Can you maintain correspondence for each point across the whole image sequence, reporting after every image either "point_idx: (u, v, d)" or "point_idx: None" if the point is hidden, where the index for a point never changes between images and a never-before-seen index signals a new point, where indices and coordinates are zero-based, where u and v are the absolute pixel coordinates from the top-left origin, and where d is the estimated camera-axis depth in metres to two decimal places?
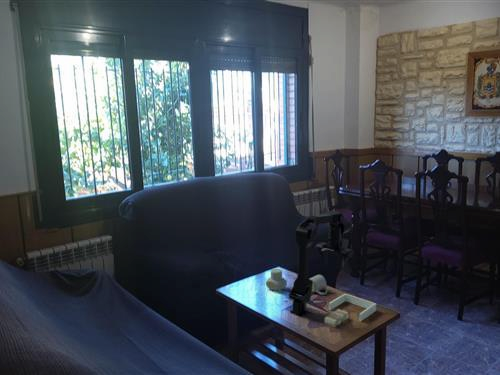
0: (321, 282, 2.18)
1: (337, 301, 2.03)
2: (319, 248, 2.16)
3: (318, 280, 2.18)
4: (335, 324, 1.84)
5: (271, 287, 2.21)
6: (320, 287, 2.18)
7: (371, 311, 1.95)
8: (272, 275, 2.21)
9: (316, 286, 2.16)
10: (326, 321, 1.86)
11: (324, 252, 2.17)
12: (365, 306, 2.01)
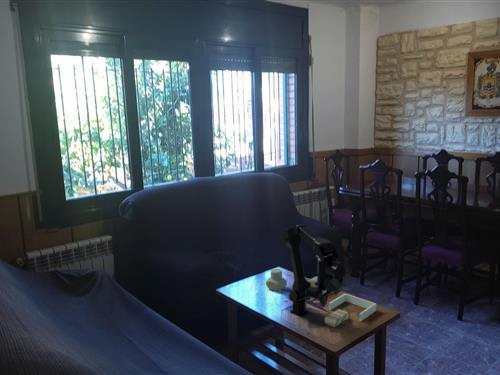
0: None
1: (337, 301, 2.03)
2: None
3: None
4: (335, 324, 1.84)
5: (271, 287, 2.21)
6: None
7: (371, 311, 1.95)
8: (272, 275, 2.21)
9: (317, 286, 2.15)
10: (326, 321, 1.86)
11: None
12: (365, 306, 2.01)
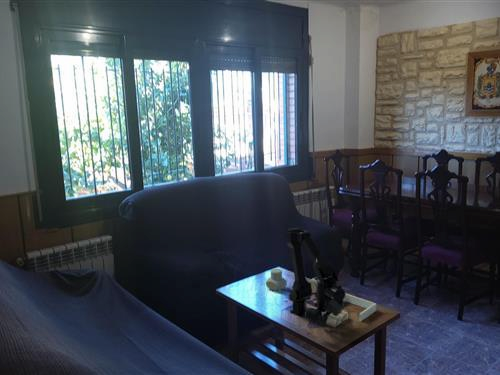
0: None
1: None
2: None
3: None
4: (335, 324, 1.84)
5: (271, 287, 2.21)
6: None
7: (371, 311, 1.95)
8: (272, 275, 2.21)
9: None
10: None
11: None
12: (365, 306, 2.01)
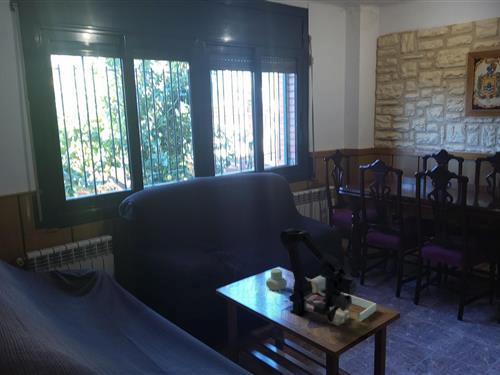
0: (323, 283, 2.17)
1: None
2: None
3: (320, 281, 2.17)
4: (338, 322, 1.85)
5: (271, 287, 2.21)
6: (322, 288, 2.16)
7: (371, 311, 1.95)
8: (272, 275, 2.21)
9: (318, 287, 2.15)
10: None
11: None
12: (365, 306, 2.01)
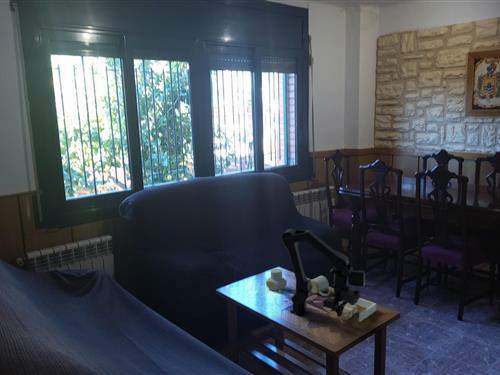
0: (323, 283, 2.17)
1: None
2: None
3: (320, 281, 2.16)
4: (347, 316, 1.90)
5: (271, 287, 2.21)
6: (322, 288, 2.16)
7: (371, 311, 1.95)
8: (272, 275, 2.21)
9: (318, 287, 2.15)
10: None
11: None
12: (365, 306, 2.01)
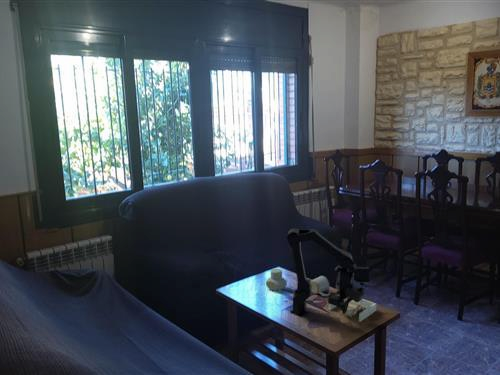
0: (324, 283, 2.16)
1: None
2: None
3: (320, 282, 2.16)
4: (351, 314, 1.93)
5: (271, 287, 2.21)
6: (323, 288, 2.16)
7: (371, 311, 1.95)
8: (272, 275, 2.21)
9: (319, 287, 2.14)
10: None
11: None
12: (365, 306, 2.01)
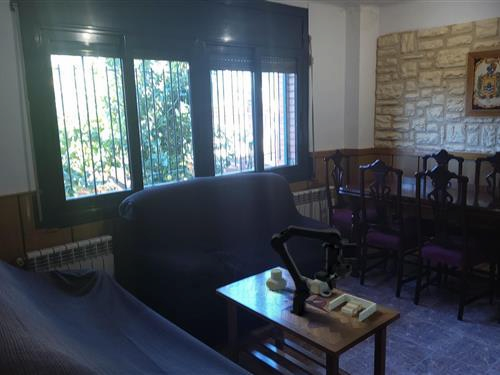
0: (325, 284, 2.16)
1: (337, 301, 2.03)
2: None
3: (321, 282, 2.15)
4: (352, 314, 1.93)
5: (271, 287, 2.21)
6: (324, 289, 2.15)
7: (371, 311, 1.95)
8: (272, 275, 2.21)
9: (320, 288, 2.14)
10: (343, 311, 1.95)
11: None
12: (365, 306, 2.01)
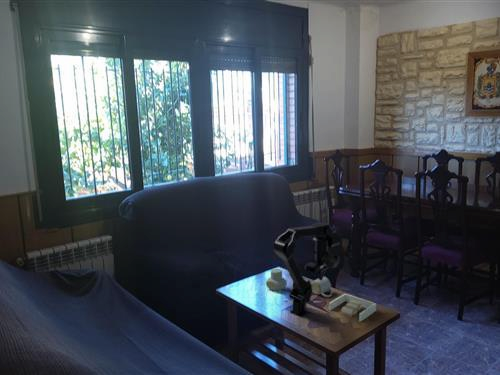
0: (326, 284, 2.15)
1: (337, 301, 2.03)
2: None
3: (322, 282, 2.15)
4: (352, 314, 1.93)
5: (271, 287, 2.21)
6: (325, 289, 2.15)
7: (371, 311, 1.95)
8: (272, 275, 2.21)
9: (321, 288, 2.13)
10: (343, 311, 1.95)
11: None
12: (365, 306, 2.01)
